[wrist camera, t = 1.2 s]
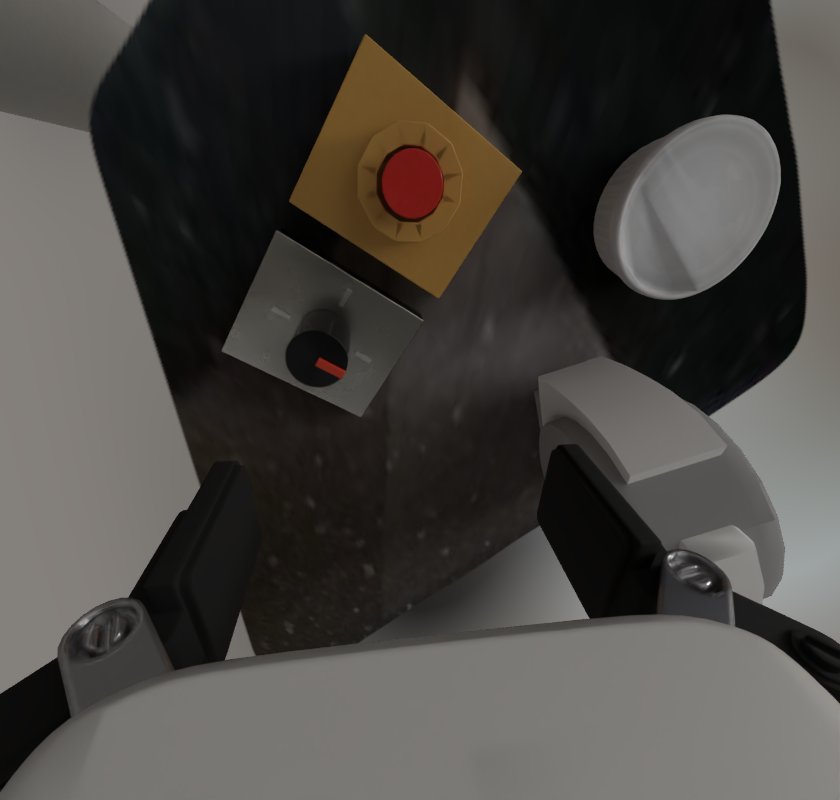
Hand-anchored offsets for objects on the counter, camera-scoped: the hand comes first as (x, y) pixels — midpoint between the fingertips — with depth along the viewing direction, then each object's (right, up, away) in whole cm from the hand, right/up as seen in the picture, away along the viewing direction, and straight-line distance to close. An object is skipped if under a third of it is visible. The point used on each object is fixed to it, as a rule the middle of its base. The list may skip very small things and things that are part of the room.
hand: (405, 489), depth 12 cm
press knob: (0, +16, +12) cm, 20 cm away
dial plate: (-7, +9, +19) cm, 22 cm away
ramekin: (+18, +18, +18) cm, 31 cm away
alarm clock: (+15, 0, +27) cm, 31 cm away
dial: (-7, +8, +17) cm, 20 cm away
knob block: (-1, +18, +15) cm, 24 cm away
